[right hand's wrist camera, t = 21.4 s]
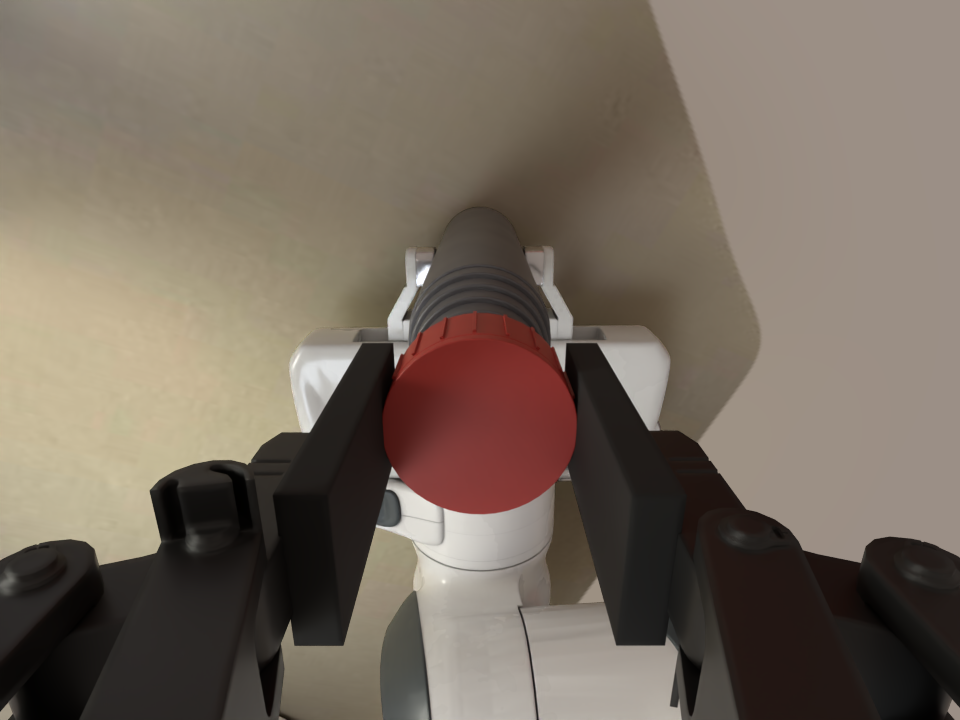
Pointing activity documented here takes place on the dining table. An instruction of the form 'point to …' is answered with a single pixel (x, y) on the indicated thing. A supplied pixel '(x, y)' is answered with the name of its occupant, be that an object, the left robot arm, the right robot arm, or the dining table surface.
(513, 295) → the bottle
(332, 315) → the dining table surface
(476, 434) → the cap
